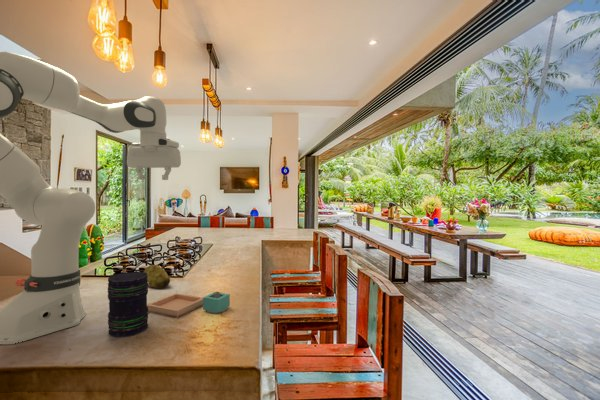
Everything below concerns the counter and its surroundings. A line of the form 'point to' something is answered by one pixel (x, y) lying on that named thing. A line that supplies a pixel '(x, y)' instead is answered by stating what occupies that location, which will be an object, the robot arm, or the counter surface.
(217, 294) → the grey peg stand
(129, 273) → the storage jar
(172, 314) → the tray
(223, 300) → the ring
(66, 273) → the robot arm
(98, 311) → the counter surface
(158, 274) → the potato
